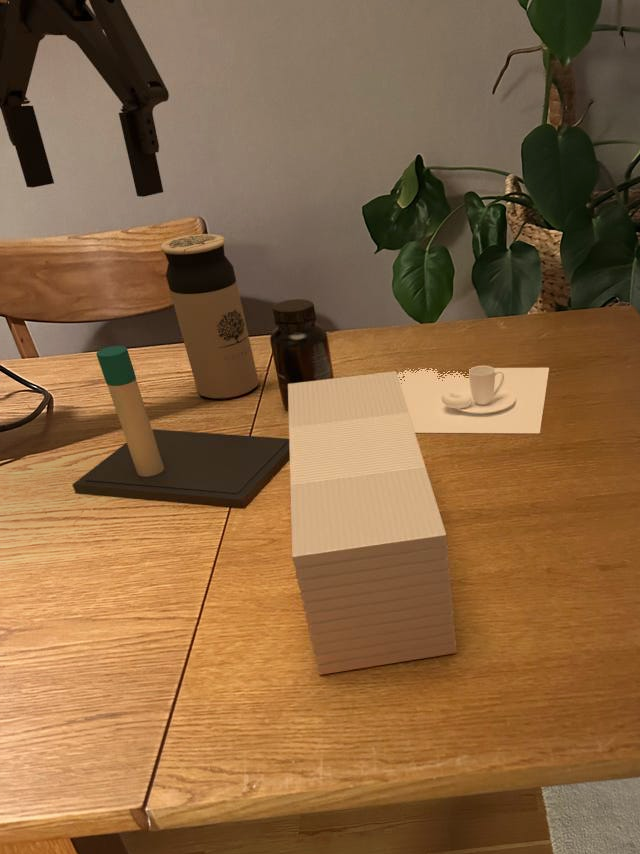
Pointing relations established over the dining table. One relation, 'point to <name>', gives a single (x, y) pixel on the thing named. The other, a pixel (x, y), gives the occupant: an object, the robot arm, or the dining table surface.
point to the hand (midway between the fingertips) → (94, 190)
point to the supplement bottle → (299, 345)
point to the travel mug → (210, 315)
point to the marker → (130, 409)
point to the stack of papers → (365, 526)
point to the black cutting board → (193, 469)
